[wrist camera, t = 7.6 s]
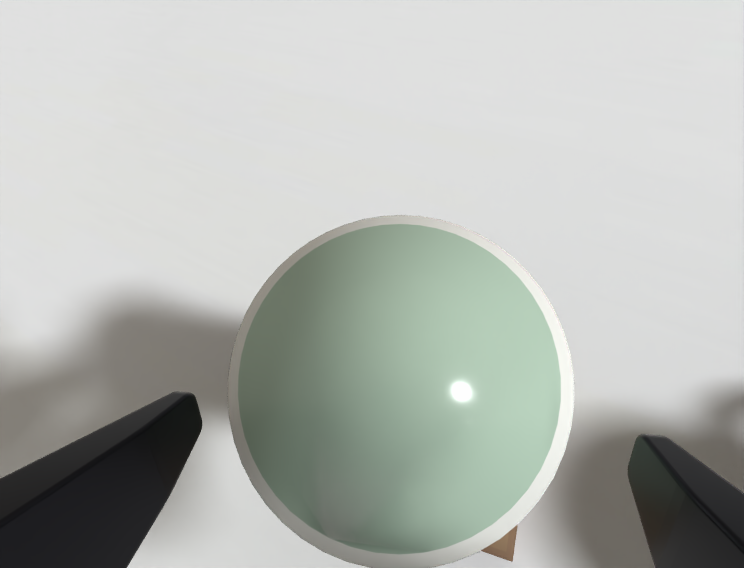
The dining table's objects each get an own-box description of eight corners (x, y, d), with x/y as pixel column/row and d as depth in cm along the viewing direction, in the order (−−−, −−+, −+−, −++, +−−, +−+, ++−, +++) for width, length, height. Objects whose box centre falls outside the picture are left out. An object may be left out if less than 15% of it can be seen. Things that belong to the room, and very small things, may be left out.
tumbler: (441, 513, 16) (446, 678, 5) (330, 424, 18) (163, 409, 7) (513, 390, 18) (639, 315, 6) (401, 320, 20) (353, 170, 8)
